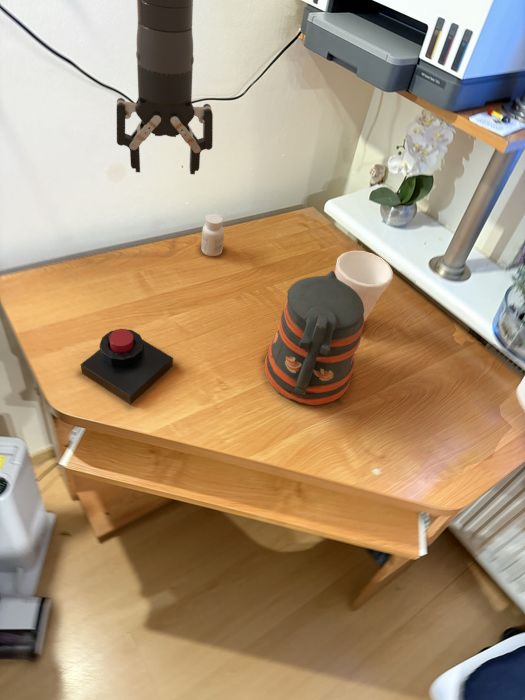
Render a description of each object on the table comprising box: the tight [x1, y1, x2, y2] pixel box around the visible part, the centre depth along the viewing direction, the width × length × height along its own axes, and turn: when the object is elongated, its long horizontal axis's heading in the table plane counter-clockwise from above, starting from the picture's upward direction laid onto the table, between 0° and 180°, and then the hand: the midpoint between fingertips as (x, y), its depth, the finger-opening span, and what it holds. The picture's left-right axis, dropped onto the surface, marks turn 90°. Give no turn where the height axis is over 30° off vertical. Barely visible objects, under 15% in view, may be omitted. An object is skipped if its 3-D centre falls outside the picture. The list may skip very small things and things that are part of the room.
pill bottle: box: [200, 213, 225, 257], centre depth 105 cm, size 4×4×8 cm
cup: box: [334, 250, 394, 323], centre depth 93 cm, size 10×10×13 cm
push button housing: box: [80, 328, 174, 406], centre depth 81 cm, size 10×10×4 cm
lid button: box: [109, 328, 134, 354], centre depth 81 cm, size 4×4×2 cm
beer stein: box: [264, 270, 366, 406], centre depth 79 cm, size 19×15×20 cm
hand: (165, 171), depth 82 cm, fingers open, 8 cm apart
